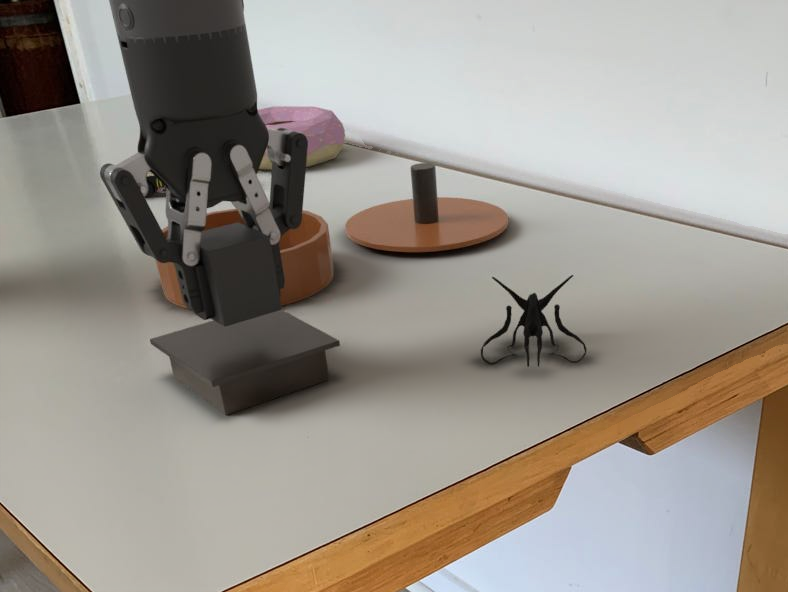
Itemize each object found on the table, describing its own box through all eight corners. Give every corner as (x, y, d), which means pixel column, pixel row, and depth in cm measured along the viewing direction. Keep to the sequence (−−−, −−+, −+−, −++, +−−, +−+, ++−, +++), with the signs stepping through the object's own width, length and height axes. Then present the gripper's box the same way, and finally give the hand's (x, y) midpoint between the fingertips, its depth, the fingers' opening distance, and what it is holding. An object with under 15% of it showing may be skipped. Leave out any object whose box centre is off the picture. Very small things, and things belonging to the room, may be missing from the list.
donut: (339, 139, 130) (334, 97, 127) (356, 167, 119) (351, 121, 115) (221, 151, 128) (213, 108, 124) (227, 180, 116) (218, 134, 113)
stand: (220, 423, 67) (211, 381, 65) (159, 377, 73) (149, 339, 71) (344, 380, 71) (339, 340, 69) (277, 340, 77) (270, 303, 76)
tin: (211, 327, 80) (199, 274, 78) (136, 281, 90) (123, 232, 87) (365, 281, 87) (360, 231, 85) (281, 243, 97) (273, 197, 94)
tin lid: (408, 271, 89) (402, 200, 85) (316, 232, 99) (307, 167, 95) (541, 231, 96) (541, 164, 93) (443, 199, 107) (440, 137, 103)
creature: (587, 385, 72) (583, 321, 76) (590, 321, 67) (586, 258, 72) (480, 387, 72) (483, 323, 77) (476, 324, 68) (480, 261, 73)
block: (224, 327, 66) (208, 251, 63) (195, 309, 69) (178, 236, 66) (282, 309, 68) (269, 235, 65) (251, 293, 71) (238, 222, 68)
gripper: (257, 2, 64) (298, 269, 74) (39, 31, 57) (120, 319, 68) (316, 11, 59) (352, 294, 70) (87, 43, 52) (165, 350, 63)
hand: (237, 305), depth 69 cm, fingers closed on block, 4 cm apart
